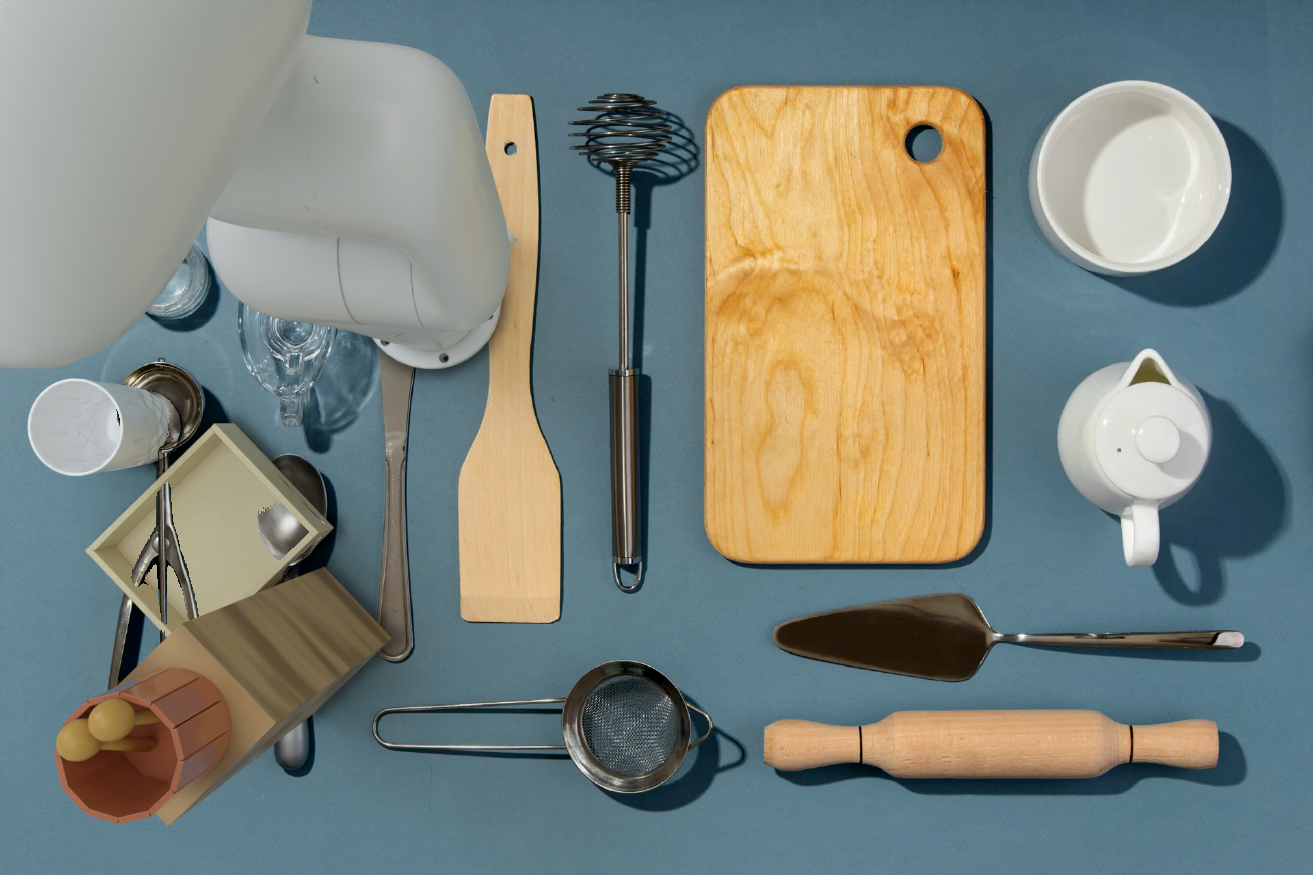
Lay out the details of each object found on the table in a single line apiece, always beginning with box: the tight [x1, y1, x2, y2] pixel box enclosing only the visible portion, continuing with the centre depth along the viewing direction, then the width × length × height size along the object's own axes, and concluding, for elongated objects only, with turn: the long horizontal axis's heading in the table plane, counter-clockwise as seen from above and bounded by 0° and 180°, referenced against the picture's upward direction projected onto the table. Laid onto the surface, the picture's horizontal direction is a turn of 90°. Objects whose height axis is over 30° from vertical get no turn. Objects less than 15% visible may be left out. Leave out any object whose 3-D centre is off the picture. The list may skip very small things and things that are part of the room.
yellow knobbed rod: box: [88, 699, 162, 742], centre depth 57 cm, size 2×2×8 cm
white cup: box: [27, 377, 171, 477], centre depth 80 cm, size 8×8×10 cm
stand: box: [117, 566, 392, 827], centre depth 73 cm, size 10×9×24 cm
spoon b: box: [55, 719, 155, 762], centre depth 57 cm, size 2×2×8 cm
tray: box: [84, 422, 334, 638], centre depth 83 cm, size 16×13×4 cm
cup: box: [53, 668, 232, 825], centre depth 58 cm, size 8×8×6 cm
